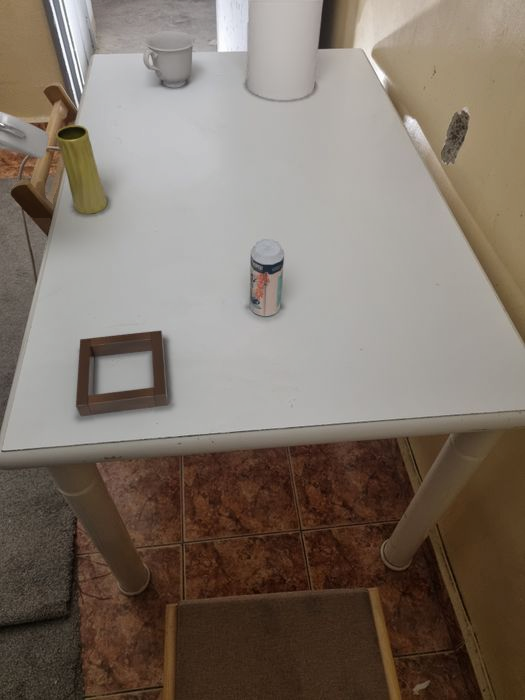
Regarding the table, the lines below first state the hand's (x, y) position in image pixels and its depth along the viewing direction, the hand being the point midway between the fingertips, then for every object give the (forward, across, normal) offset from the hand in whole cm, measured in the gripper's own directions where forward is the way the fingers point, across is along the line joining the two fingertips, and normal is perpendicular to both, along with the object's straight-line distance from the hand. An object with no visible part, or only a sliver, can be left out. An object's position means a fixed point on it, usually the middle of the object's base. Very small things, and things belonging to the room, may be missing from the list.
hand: (14, 143), depth 77 cm
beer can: (+13, -41, +13) cm, 45 cm away
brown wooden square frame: (-2, -28, +27) cm, 39 cm away
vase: (+21, -1, +4) cm, 22 cm away
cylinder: (+66, -15, -41) cm, 79 cm away
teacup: (+58, +10, -32) cm, 67 cm away
